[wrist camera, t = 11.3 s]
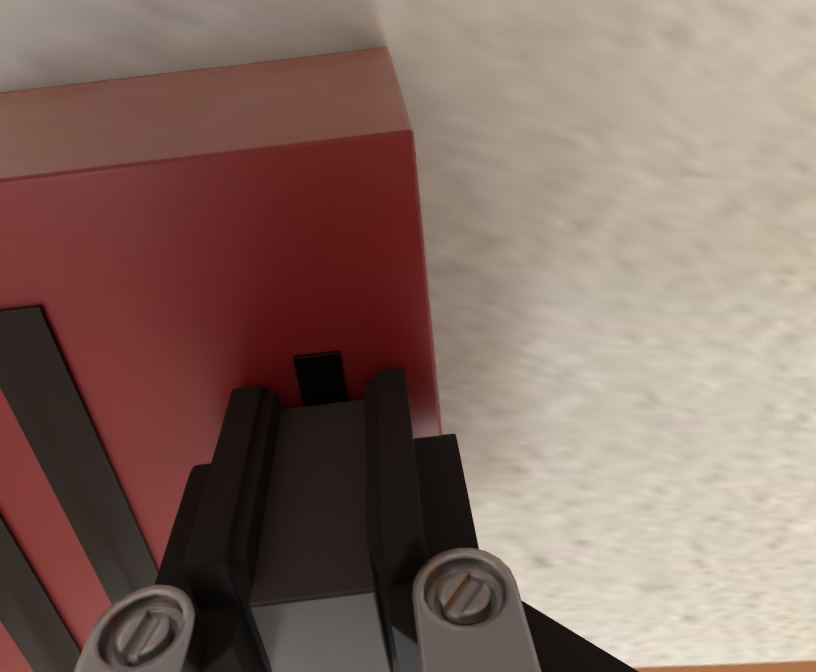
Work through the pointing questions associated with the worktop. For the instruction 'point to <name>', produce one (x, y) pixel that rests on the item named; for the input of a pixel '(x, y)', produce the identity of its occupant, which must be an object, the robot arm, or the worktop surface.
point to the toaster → (185, 303)
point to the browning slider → (319, 549)
